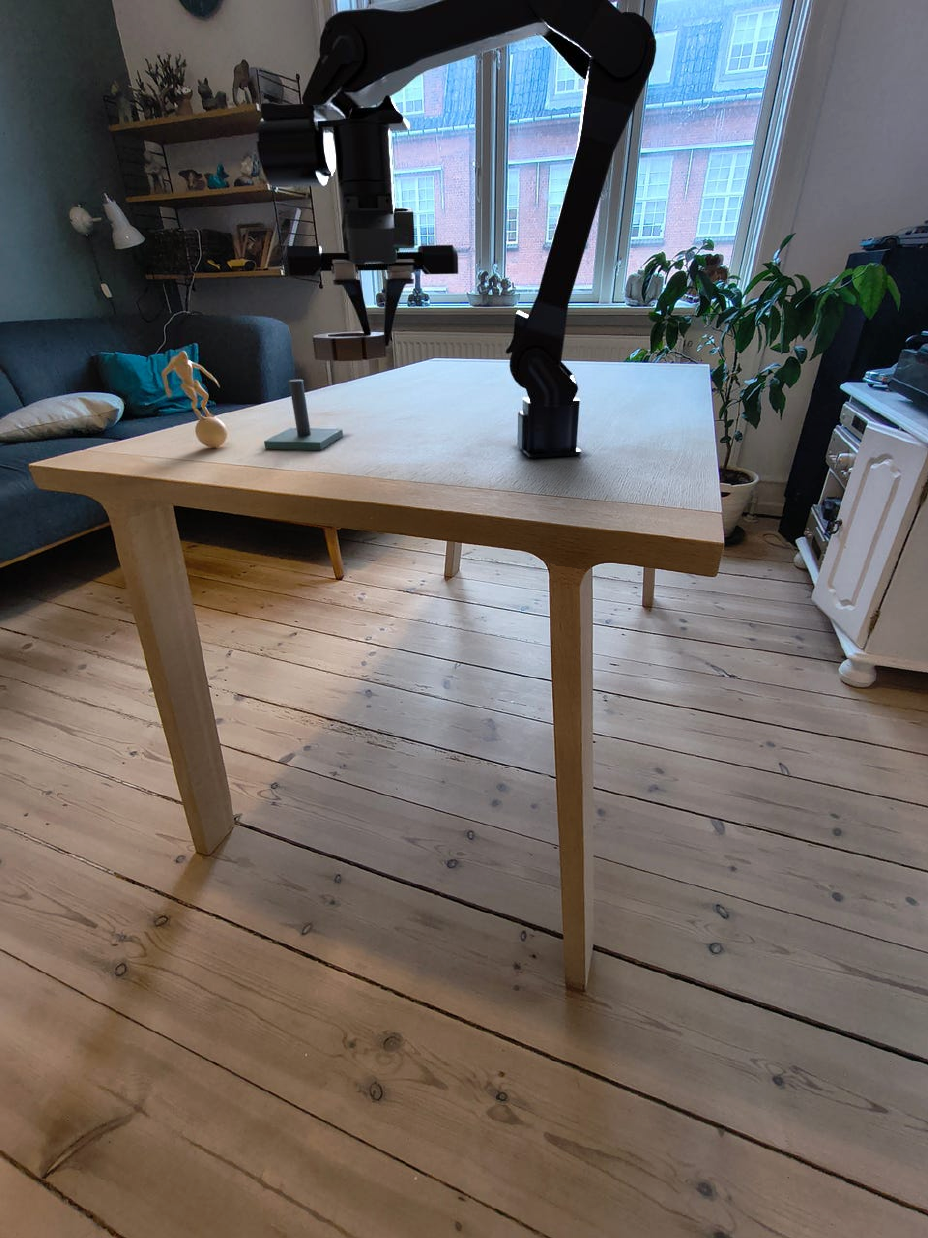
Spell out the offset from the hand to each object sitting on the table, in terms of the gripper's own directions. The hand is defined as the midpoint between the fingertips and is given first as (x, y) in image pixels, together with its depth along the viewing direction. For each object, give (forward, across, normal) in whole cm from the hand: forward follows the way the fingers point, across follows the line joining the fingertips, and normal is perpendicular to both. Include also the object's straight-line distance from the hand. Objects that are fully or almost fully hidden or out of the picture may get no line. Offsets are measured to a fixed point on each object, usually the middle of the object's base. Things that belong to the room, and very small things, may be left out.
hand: (378, 346), depth 70 cm
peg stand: (+12, -11, +8) cm, 18 cm away
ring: (+1, -3, 0) cm, 3 cm away
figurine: (+13, -24, +9) cm, 29 cm away
